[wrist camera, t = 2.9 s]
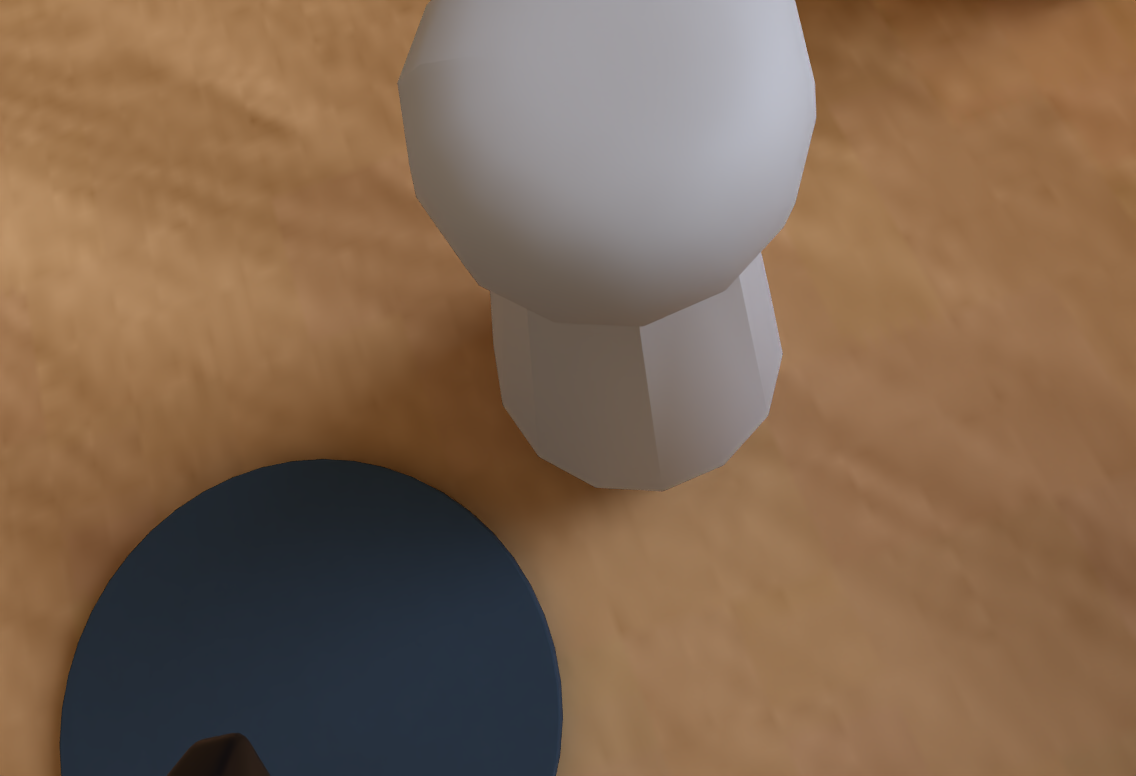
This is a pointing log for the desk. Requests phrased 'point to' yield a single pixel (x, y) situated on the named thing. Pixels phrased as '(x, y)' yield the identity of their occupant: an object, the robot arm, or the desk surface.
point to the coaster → (318, 636)
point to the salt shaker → (617, 212)
